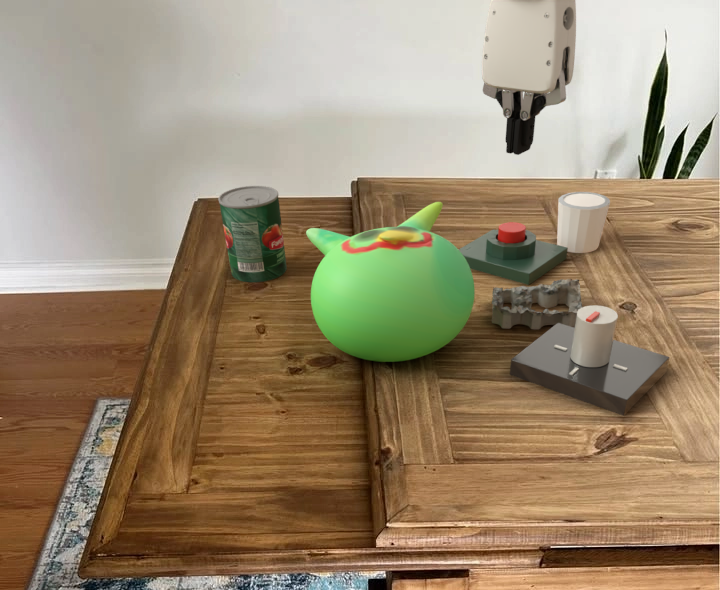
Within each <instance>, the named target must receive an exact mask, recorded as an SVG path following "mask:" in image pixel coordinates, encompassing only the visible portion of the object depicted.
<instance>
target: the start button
mask: <svg viewBox="0 0 720 590" xmlns="http://www.w3.org/2000/svg"><path fill="white" fill-rule="evenodd" d="M497 230H498V241H500V242H504V243H519V242H523V241H524V240H525V233H526V230H527V227H526V225H525V224H523V223H521V222H515V221H512V222H511V221H507V222H504V223H501V224H499V225H498V229H497Z"/></svg>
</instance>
